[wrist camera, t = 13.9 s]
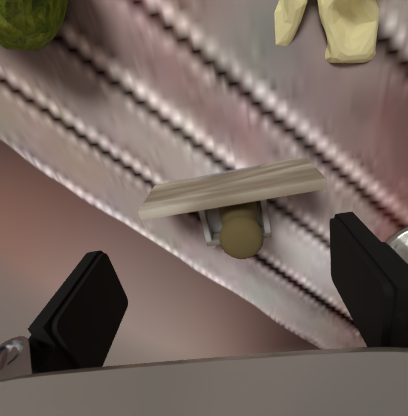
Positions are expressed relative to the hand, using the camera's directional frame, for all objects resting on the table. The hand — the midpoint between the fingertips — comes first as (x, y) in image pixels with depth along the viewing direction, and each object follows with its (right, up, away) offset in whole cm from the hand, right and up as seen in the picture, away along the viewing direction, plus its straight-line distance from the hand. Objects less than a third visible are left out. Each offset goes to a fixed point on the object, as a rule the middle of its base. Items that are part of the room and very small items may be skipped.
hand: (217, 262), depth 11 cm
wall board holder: (+4, +3, +30) cm, 30 cm away
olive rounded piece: (+4, +3, +29) cm, 29 cm away
